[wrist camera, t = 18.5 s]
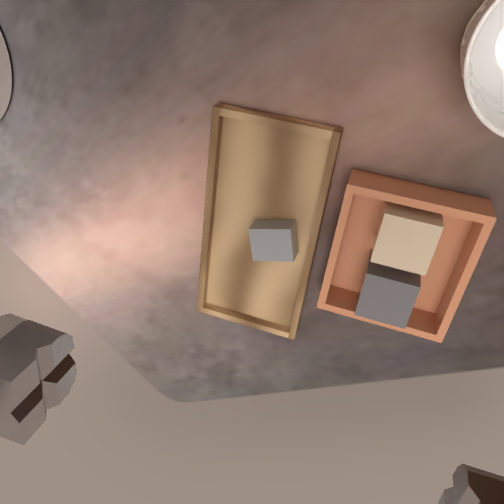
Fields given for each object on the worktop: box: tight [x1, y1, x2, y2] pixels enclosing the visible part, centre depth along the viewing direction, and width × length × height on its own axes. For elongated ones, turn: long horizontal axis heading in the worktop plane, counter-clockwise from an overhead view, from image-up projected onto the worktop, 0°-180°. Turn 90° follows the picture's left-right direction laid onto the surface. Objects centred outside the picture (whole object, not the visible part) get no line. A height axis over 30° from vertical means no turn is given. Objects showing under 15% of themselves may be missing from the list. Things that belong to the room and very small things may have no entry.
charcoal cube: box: [354, 249, 421, 329], centre depth 37 cm, size 4×4×4 cm
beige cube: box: [370, 201, 444, 276], centre depth 35 cm, size 4×4×4 cm
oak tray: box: [197, 103, 343, 340], centre depth 40 cm, size 10×20×1 cm, turn 172°
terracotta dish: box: [317, 169, 497, 343], centre depth 36 cm, size 10×11×4 cm
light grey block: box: [248, 219, 299, 262], centre depth 39 cm, size 4×3×2 cm
